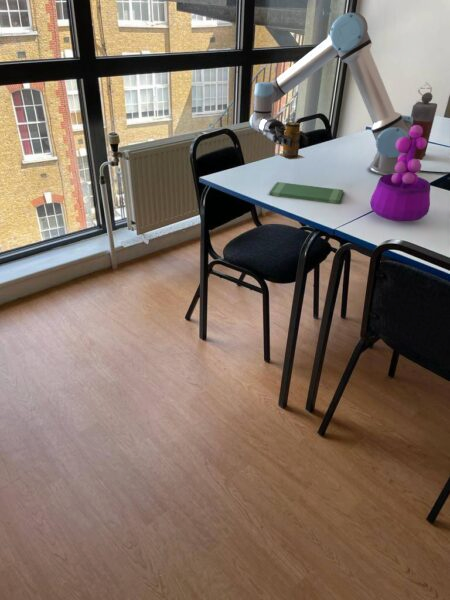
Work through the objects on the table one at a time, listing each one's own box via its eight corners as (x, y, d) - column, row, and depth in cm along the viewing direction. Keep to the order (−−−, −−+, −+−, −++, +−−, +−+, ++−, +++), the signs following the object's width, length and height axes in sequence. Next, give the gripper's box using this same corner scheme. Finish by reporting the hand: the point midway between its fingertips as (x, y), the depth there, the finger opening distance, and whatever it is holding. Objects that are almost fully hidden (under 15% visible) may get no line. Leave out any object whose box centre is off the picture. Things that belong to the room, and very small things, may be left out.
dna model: (419, 149, 228) (435, 83, 212) (406, 148, 230) (420, 83, 213) (417, 146, 234) (432, 81, 218) (404, 145, 235) (418, 81, 219)
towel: (343, 192, 176) (343, 189, 175) (339, 203, 166) (339, 200, 165) (277, 184, 183) (277, 181, 182) (269, 194, 173) (269, 191, 172)
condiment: (293, 152, 181) (296, 120, 174) (305, 158, 174) (308, 125, 168) (277, 154, 178) (279, 122, 172) (288, 160, 172) (291, 126, 165)
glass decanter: (426, 154, 222) (441, 91, 206) (421, 160, 214) (436, 95, 198) (407, 151, 226) (420, 89, 210) (401, 157, 217) (415, 93, 202)
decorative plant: (364, 223, 152) (382, 128, 135) (370, 204, 166) (387, 116, 150) (425, 232, 146) (451, 134, 130) (426, 211, 161) (449, 121, 144)
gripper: (292, 136, 192) (320, 150, 174) (250, 139, 186) (275, 154, 168) (293, 117, 188) (323, 129, 169) (251, 120, 182) (276, 133, 164)
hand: (299, 142), depth 169 cm, fingers closed on condiment, 6 cm apart
